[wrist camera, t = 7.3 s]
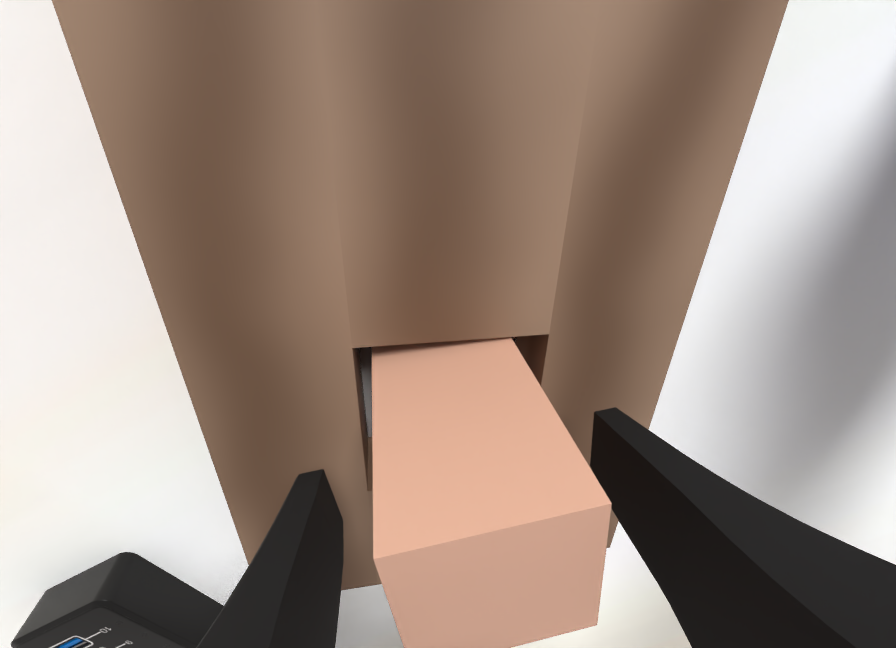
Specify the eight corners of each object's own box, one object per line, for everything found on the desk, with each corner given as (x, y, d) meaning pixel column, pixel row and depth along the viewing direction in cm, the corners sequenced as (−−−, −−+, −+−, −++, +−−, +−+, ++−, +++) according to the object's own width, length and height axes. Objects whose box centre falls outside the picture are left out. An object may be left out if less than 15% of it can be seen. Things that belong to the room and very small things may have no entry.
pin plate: (722, -51, 10) (818, -93, 8) (583, 498, 20) (609, 547, 17) (90, -108, 8) (-13, -186, 6) (275, 540, 17) (262, 602, 15)
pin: (489, 302, 14) (611, 503, 7) (496, 395, 16) (597, 625, 9) (371, 324, 13) (373, 559, 6) (393, 416, 15) (412, 673, 8)
